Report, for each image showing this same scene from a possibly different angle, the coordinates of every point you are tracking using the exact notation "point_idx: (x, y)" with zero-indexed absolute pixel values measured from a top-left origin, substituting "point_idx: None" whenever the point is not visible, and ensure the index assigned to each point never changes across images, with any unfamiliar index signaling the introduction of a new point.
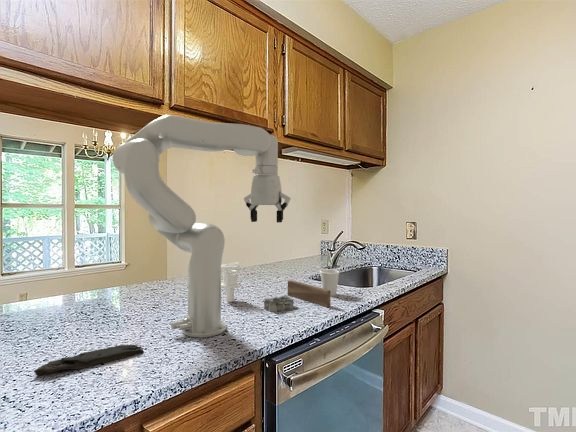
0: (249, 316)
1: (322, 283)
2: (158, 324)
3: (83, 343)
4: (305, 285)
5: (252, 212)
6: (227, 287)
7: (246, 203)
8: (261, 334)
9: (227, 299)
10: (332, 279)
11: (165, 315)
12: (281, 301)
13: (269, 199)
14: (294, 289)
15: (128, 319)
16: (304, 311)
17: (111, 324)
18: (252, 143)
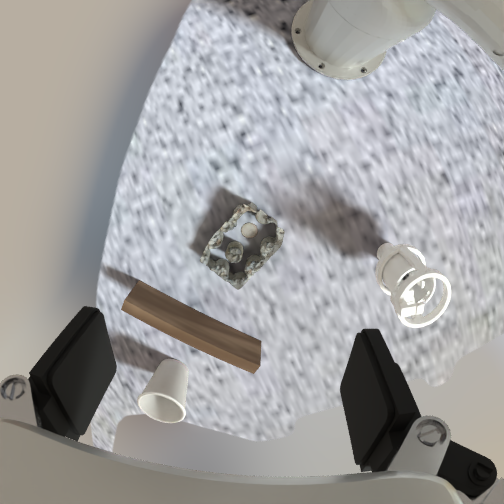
0: (285, 148)
1: (179, 381)
2: (441, 51)
3: None
4: (196, 338)
5: (391, 394)
6: (400, 247)
7: (494, 474)
8: (205, 54)
9: (391, 245)
10: (150, 383)
11: (463, 105)
12: (233, 247)
13: (20, 497)
14: (236, 343)
15: (498, 74)
16: (172, 235)
17: None
18: None
